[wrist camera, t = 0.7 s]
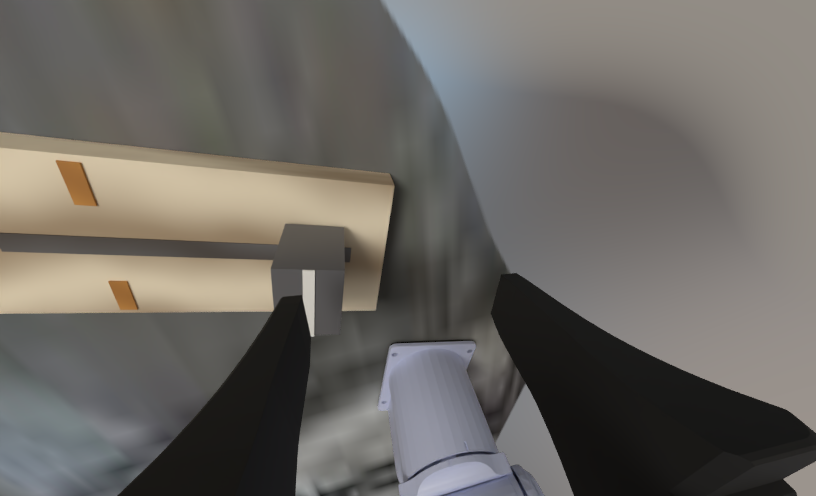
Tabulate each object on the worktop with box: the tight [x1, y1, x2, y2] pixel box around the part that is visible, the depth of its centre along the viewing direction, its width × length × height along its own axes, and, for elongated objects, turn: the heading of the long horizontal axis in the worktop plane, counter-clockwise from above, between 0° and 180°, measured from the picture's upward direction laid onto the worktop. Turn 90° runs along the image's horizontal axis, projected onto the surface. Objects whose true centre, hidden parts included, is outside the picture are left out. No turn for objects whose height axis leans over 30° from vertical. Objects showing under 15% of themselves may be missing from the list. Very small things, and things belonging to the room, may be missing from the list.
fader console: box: [0, 132, 395, 314], centre depth 17 cm, size 9×20×2 cm, turn 79°
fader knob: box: [271, 224, 345, 337], centre depth 15 cm, size 4×3×4 cm
